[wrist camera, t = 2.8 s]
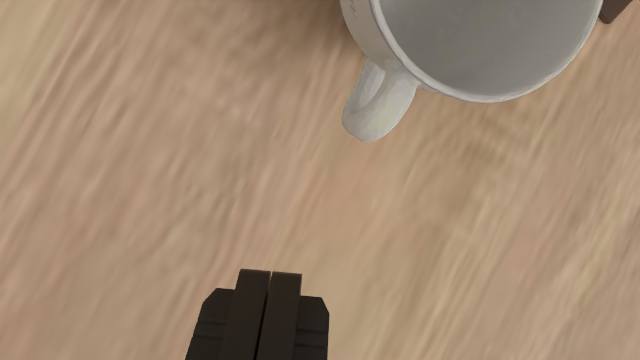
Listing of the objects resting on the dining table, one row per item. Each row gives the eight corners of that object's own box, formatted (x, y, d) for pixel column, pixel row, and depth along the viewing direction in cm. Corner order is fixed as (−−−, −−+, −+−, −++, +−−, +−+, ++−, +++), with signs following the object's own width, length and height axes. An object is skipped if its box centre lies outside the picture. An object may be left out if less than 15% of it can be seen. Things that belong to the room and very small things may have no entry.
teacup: (436, -168, 29) (518, -251, 21) (555, 0, 32) (665, -19, 24) (235, 22, 29) (245, 9, 21) (372, 173, 32) (424, 209, 24)
